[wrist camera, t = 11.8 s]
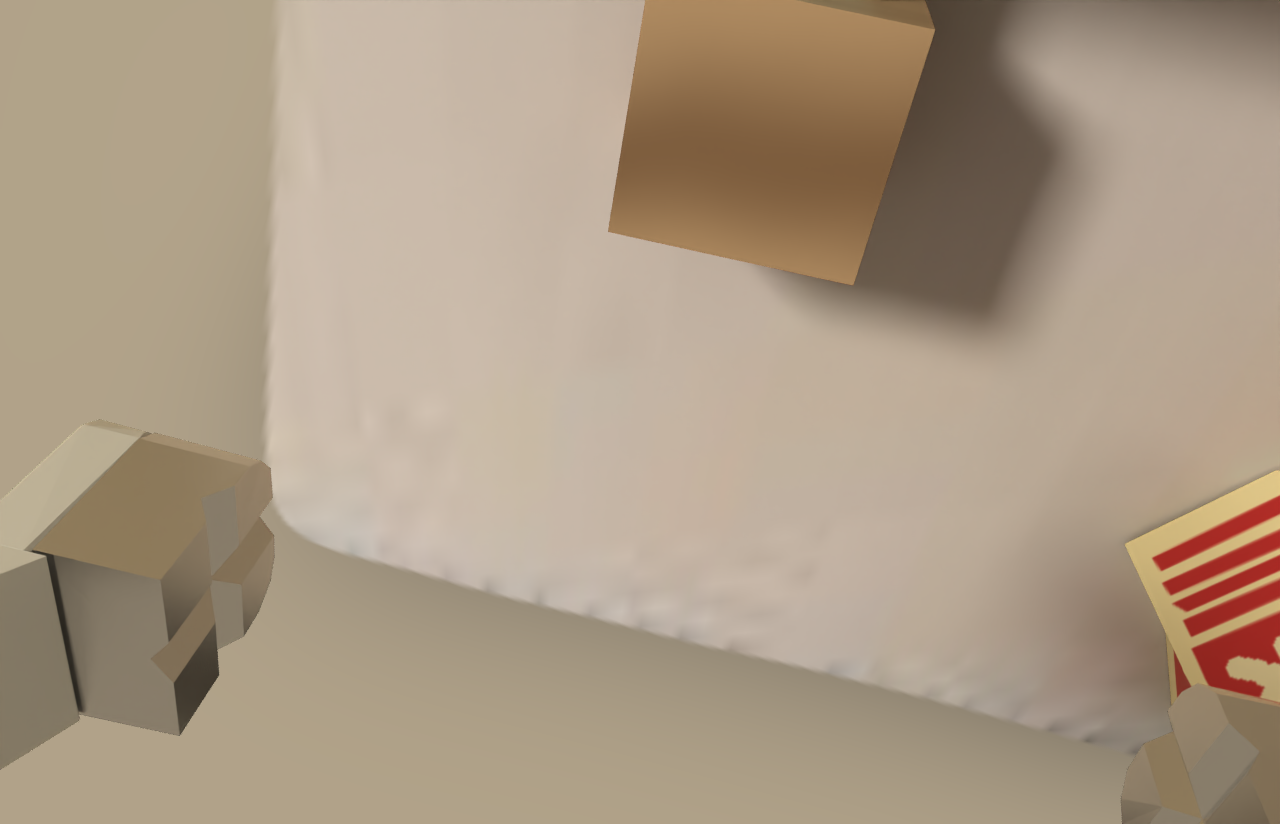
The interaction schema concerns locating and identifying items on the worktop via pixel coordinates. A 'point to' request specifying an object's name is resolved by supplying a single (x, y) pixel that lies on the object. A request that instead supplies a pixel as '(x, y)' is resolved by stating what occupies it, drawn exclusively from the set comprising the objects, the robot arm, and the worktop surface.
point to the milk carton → (1219, 590)
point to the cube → (768, 127)
